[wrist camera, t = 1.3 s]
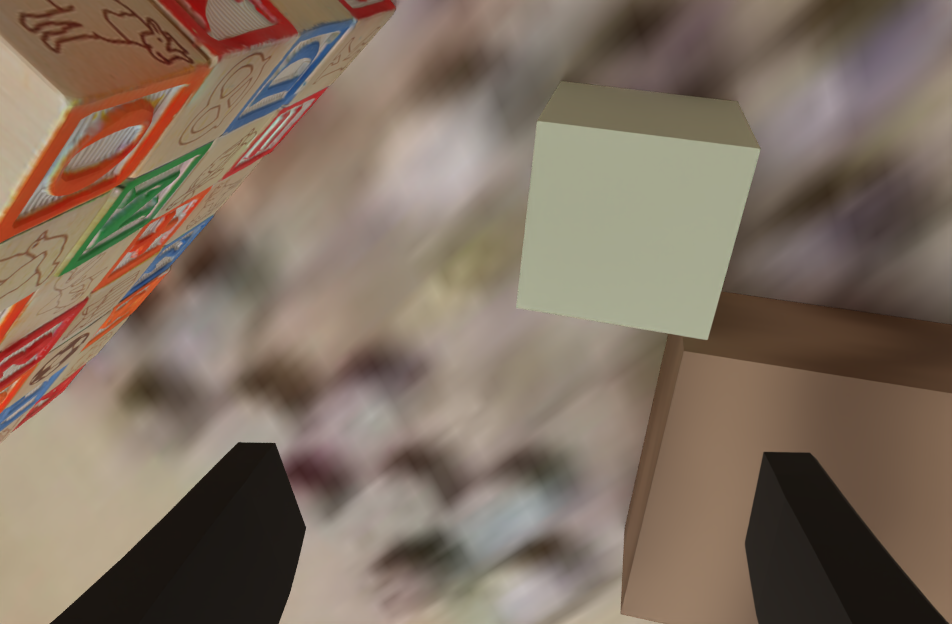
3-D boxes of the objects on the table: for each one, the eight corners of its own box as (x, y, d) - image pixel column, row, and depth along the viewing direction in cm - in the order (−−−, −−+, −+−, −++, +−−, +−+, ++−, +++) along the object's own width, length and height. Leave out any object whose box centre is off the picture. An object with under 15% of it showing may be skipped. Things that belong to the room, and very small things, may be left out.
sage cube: (736, 100, 18) (760, 148, 14) (696, 260, 20) (707, 340, 16) (561, 80, 18) (537, 120, 14) (541, 236, 21) (516, 307, 17)
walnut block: (1053, 333, 19) (1142, 423, 15) (918, 580, 24) (962, 690, 20) (678, 280, 21) (683, 350, 17) (624, 521, 25) (620, 614, 22)
